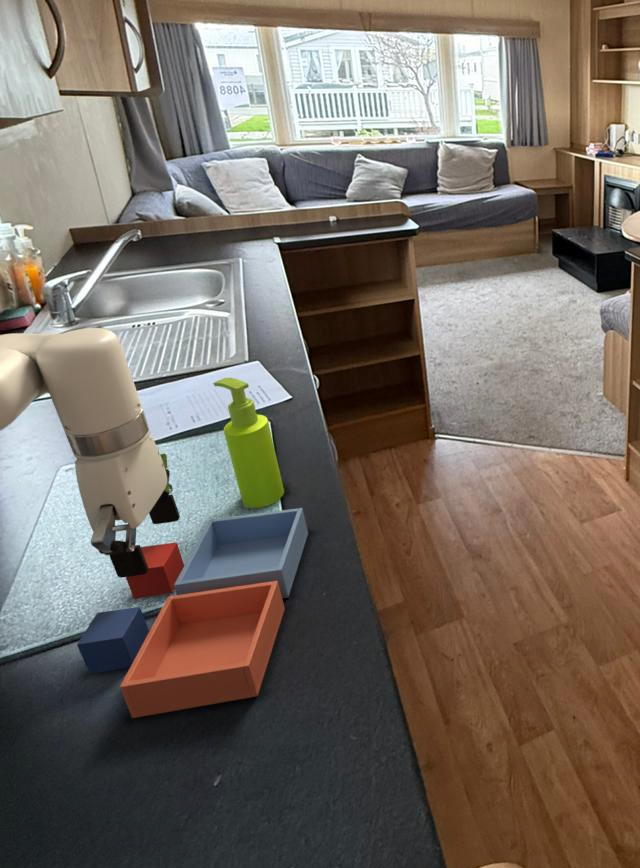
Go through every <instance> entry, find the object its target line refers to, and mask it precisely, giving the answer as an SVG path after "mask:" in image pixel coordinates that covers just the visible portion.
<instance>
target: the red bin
mask: <svg viewBox="0 0 640 868" xmlns="http://www.w3.org/2000/svg"><path fill="white" fill-rule="evenodd" d="M285 610H286V608H285V605H284V601H283V598H282V596H281V592H280V588H279V584H278V581H273V582H265V583H258V584H251V585H244V586H237V587H230V588H224V589H217V590H210V591H203V592H196V593H189V594H182V595H177V594H176V595H170V596H167V597H166V600H165V601H164V603H163V605H162V607H161V609H160V611H159V613H158V614H157V616H156V618H155V619H154V622H153V624H152V626H151V628H150V629H149V633H148V635H147V637H146V639H145V641H144V643H143V644H142V646H141V648H140V650H139V652H138V654H137V656H136V658H135V659H134V661H133V663H132V665H131V667H129V669H128V671H127V672H126V675H125V676H124V678H123V679H122V682H121V684H120V686H119V689H120V691H121V692H120V693H121V694H122V696H123V697H122V698H123V699H124V701H125V704H126V706H127V709H128V711H129V713H130V716H131V718H132V719H135V718H141V717H147V716H152V715H159V714H165V713H169V712H175V711H182V710H187V709H192V708H199V707H203V706H209V705H215V704H221V703H227V702H232V701H238V700H244V699H249V698H255V697H258V696H259V693H260V689H261V686H262V683H263V680H264V677H265V674H266V670H267V667H268V665H269V661H270V658H271V654H272V651H273V648H274V645H275V642H276V638H277V635H278V631H279V629H280V625H281V623H282V620H283V616H284V612H285Z"/></svg>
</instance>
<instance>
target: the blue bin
mask: <svg viewBox="0 0 640 868" xmlns="http://www.w3.org/2000/svg"><path fill="white" fill-rule="evenodd" d="M308 536H309V531H308V527H307V522H306V518H305V513H304V509H303V507H298V508H292V509H282V510H276V511H275V510H274V511H267V512H259V513H251V514H244V515H235V516H228V517H220V518H213V519H211V518H210V519H208V521H207V522H206V525H205V526H204V528H203V530H202V532H201V534H200V535H199V538H198V539H197V541H196V543H195V545H194V547H193V549H192V551H191V553H190V555H189V556H188V558H187V559H186V562H185V563H184V568H183V569H182V571H181V573H180V575H179V577H178V579H177V581H176V583H175V584H174V586H175V589H174V590H175V592H176V595H182V594H189V593H196V592H203V591H210V590H217V589H224V588H230V587H237V586H244V585H251V584H258V583H265V582H273V581H278V584H279V588H280V592H281V596H282V599H288V598H289V596H290V594H291V590H292V587H293V583H294V580H295V577H296V574H297V571H298V568H299V564H300V562H301V558H302V555H303V551H304V548H305V546H306V542H307V539H308Z"/></svg>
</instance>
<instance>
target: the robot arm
mask: <svg viewBox="0 0 640 868" xmlns="http://www.w3.org/2000/svg"><path fill="white" fill-rule="evenodd" d="M45 394H49V396H50V398H51V399H50V400H51V401H52V403H53V406H54V408H55V412H56V414H57V416H58V419H59V421H60V423H61V426H62V428H63V431H64V434H65V436H66V438H67V441H68V444H69V447H70V449H71V451H72V454H73V456H74V458H75V459H76V460H75V461H74V469H75V476H76V481H77V487H78V491H79V494H80V498H81V502H82V505H83V508H84V511H85V515H86V517H87V520H88V523H89V526H90V528H91V530H92V535H91V539H90V544H91V546H92V547H94V548H95V549H96V550H97V551H98V552H99V554H100V555H105V556H109V558H110V561H111V563H112V566H113V568H114V571H115V574H116V575H117V577H118V578H119V579H120V578H121V579H122V578H126V577H130V576H136V575H143V574H146V573H147V572H148V570H149V568H148V565H147V563H146V560H145V557H144V555H143V552H142V549H141V547H142V546H141V544H136V543H137V541H136V540H137V527H139V526H140V525H141V524H142V523H143V522H144V521H145V519H146V518H147V516H148V515H149V517H150V520H151V522H152V524H153V525H161V524H167V523H168V524H169V523H175V522H178V521H179V520H180V517H181V516H180V512H179V509H178V506H177V504H176V500H175V497H174V494H173V485H172V484H170V483H169V482H170V475H171V473H170V472H171V471H170V470H169V469H168V456H167V454H166V453H160V451H159V448H158V446H157V444H156V442H155V440H154V438H153V436H152V433H151V429H150V427H149V423H148V420H147V418H146V414H145V411H144V408H143V405H142V403H141V399H140V397H139V393H138V390H137V388H136V385H135V382H134V379H133V375H132V373H131V370H130V367H129V364H128V361H127V358H126V355H125V352H124V350H123V347H122V343H121V342H120V339H119V337H118V336H117V334H116V333H114V332H113V331H112V330H109V329H106V328H102V327H90V328H88V327H87V328H80V329H79V328H78V329H74V330H70V331H66V332H62V333H28V332H27V333H26V332H25V333H24V332H23V333H22V332H21V333H20V332H18V333H17V332H16V333H15V332H14V333H5V334H0V431H3V430H4V429H6V428H8V427H9V426H11V424H13V423H14V422H15V421H16V420H17V419H18V418H19V417H20V415H22V413H24V412H25V411H26V410H27V408H28V407H29V406H30V405H31V404H32V403H33V402H34V401H35V400H37V399H39V398H40V397H42V396H44V395H45ZM116 521H122V522H123V523H124V524H118V525H116ZM123 531H124V532H125V540H116V537H117V535H116V534H117V532H123Z"/></svg>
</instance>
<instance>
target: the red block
mask: <svg viewBox="0 0 640 868" xmlns="http://www.w3.org/2000/svg"><path fill="white" fill-rule="evenodd" d="M140 547H141V549H142V552H143V555H144V557H145V560H146V563H147V565H148V568H149V570H148V572H147V573H146V574H143V575H136V576H130V577H125V579H126V582H127V584H128V588H129V591H130V593H131V595H132V598H133V600H136V599H143V598H144V599H145V598H150V597H157V596H164V595H171V594H173V593H174V591H175V590H176V589H175V586H174V584H175V583H176V581H177V579H178V577H179V575H180V573H181V571H182V569H183V568H184V566H185V562H184V560H183V557H182V554H181V550H180V547H179V544H178V542H168V543H161V544H152V545H145V546H140Z"/></svg>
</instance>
